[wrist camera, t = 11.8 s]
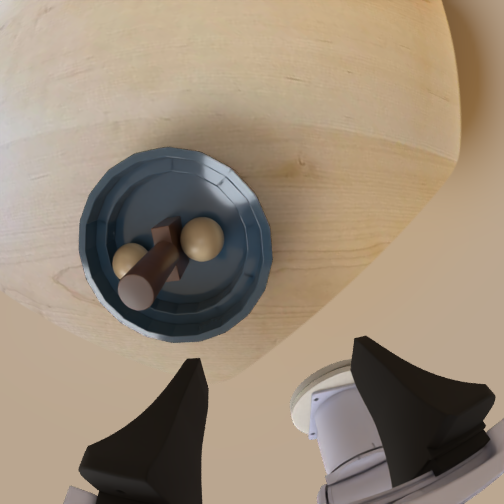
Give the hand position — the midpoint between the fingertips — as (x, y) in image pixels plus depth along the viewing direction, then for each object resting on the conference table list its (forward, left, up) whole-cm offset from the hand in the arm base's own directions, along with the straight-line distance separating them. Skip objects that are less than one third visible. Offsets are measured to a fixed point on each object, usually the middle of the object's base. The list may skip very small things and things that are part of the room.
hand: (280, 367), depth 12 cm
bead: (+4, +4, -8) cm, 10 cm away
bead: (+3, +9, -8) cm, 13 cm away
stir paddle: (+4, +6, -10) cm, 12 cm away
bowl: (+4, +6, -10) cm, 13 cm away
